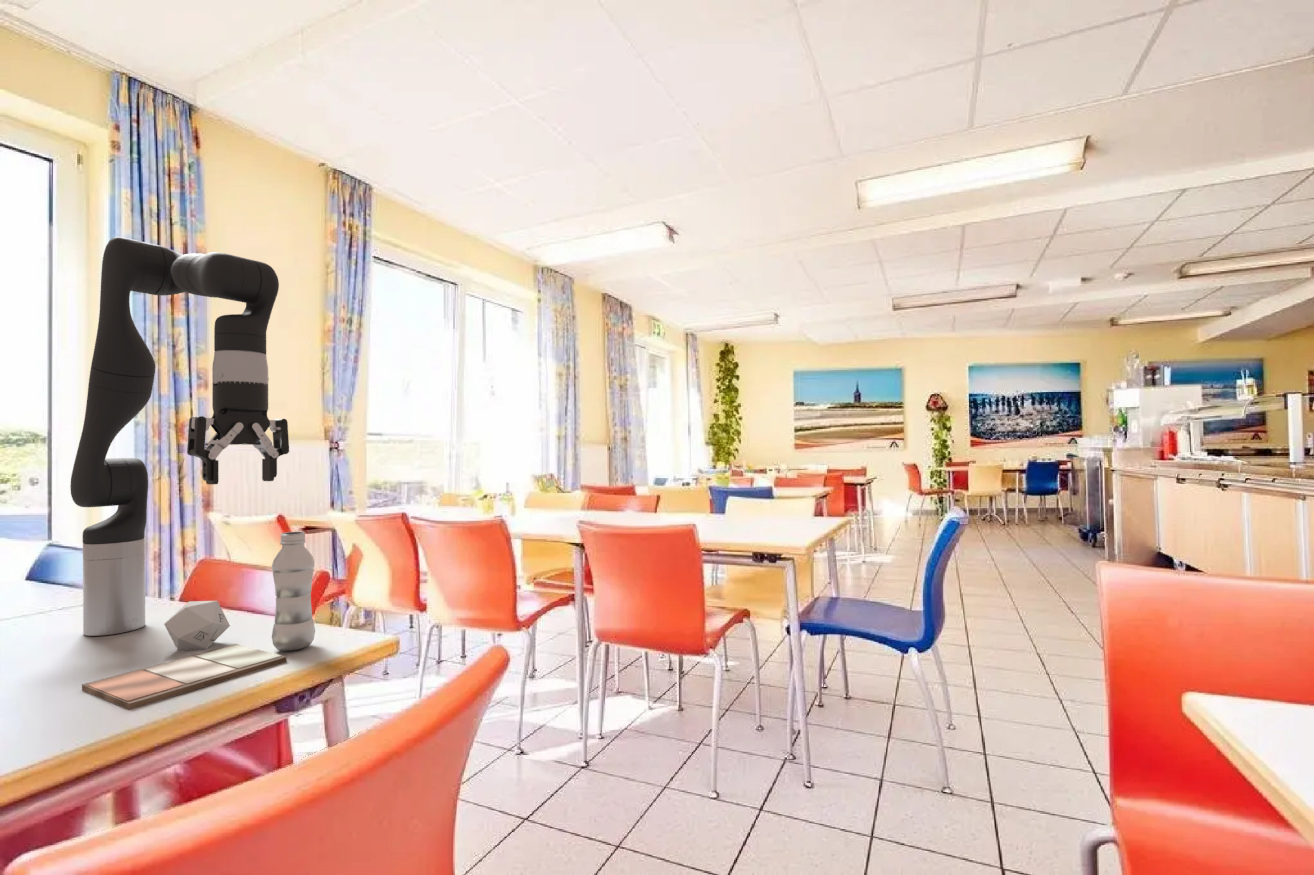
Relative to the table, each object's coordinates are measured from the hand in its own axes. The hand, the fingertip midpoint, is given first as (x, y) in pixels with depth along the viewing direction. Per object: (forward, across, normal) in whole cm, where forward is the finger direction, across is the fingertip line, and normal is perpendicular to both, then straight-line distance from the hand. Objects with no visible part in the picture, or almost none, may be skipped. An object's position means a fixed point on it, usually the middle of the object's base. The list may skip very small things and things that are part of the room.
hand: (241, 482), depth 102 cm
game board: (+29, +6, -3) cm, 30 cm away
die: (+30, -2, -18) cm, 34 cm away
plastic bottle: (+29, -9, -1) cm, 31 cm away
